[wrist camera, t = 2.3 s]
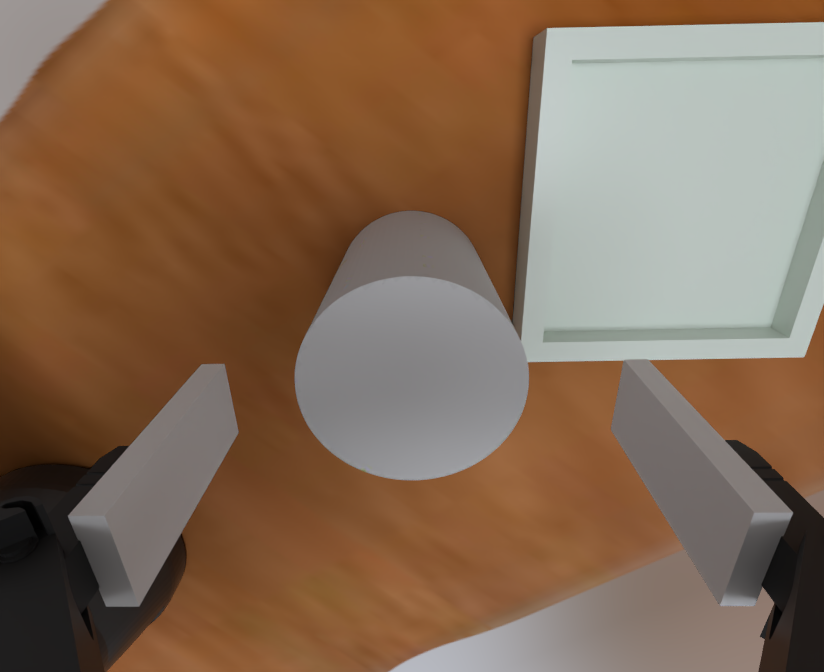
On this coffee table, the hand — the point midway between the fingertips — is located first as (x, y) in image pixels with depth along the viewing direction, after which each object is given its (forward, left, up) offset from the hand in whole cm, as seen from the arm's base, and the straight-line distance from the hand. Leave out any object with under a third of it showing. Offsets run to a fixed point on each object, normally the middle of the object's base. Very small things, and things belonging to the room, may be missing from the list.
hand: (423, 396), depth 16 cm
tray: (+14, +4, -13) cm, 19 cm away
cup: (0, 0, -13) cm, 13 cm away
